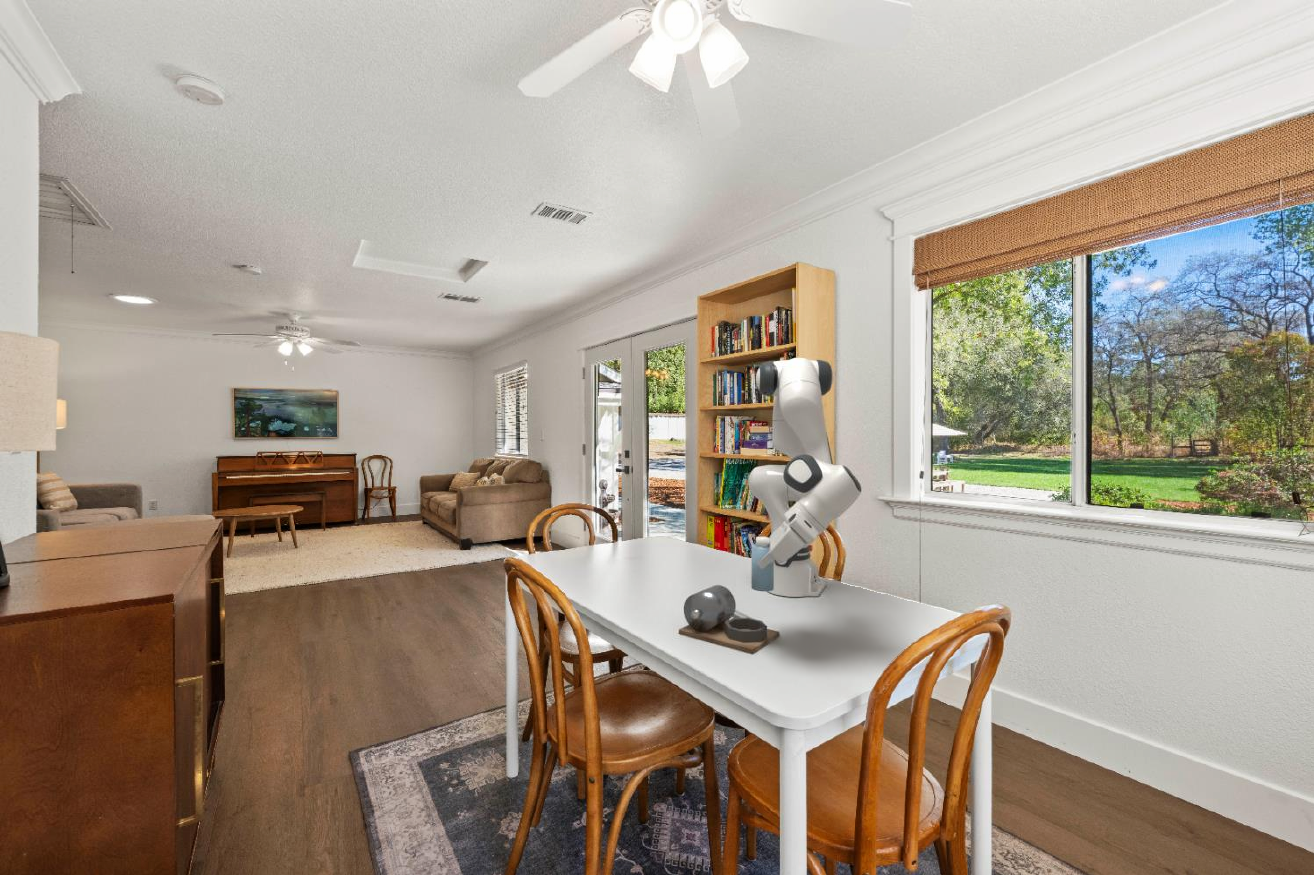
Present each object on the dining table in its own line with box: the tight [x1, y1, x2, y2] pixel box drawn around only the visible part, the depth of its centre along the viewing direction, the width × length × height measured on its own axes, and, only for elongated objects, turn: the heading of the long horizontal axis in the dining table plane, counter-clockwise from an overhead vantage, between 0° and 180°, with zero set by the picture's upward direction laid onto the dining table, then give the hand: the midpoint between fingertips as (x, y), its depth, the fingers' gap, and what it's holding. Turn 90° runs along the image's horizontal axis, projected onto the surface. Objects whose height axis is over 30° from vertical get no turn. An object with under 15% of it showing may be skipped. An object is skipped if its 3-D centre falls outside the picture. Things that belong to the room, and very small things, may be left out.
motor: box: [683, 584, 737, 632], centre depth 137 cm, size 12×9×9 cm
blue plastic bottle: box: [750, 536, 774, 592], centre depth 131 cm, size 5×5×12 cm
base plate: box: [678, 619, 780, 655], centre depth 135 cm, size 14×20×1 cm
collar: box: [725, 617, 768, 643], centre depth 132 cm, size 9×9×2 cm
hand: (759, 562), depth 131 cm, fingers closed on blue plastic bottle, 5 cm apart
